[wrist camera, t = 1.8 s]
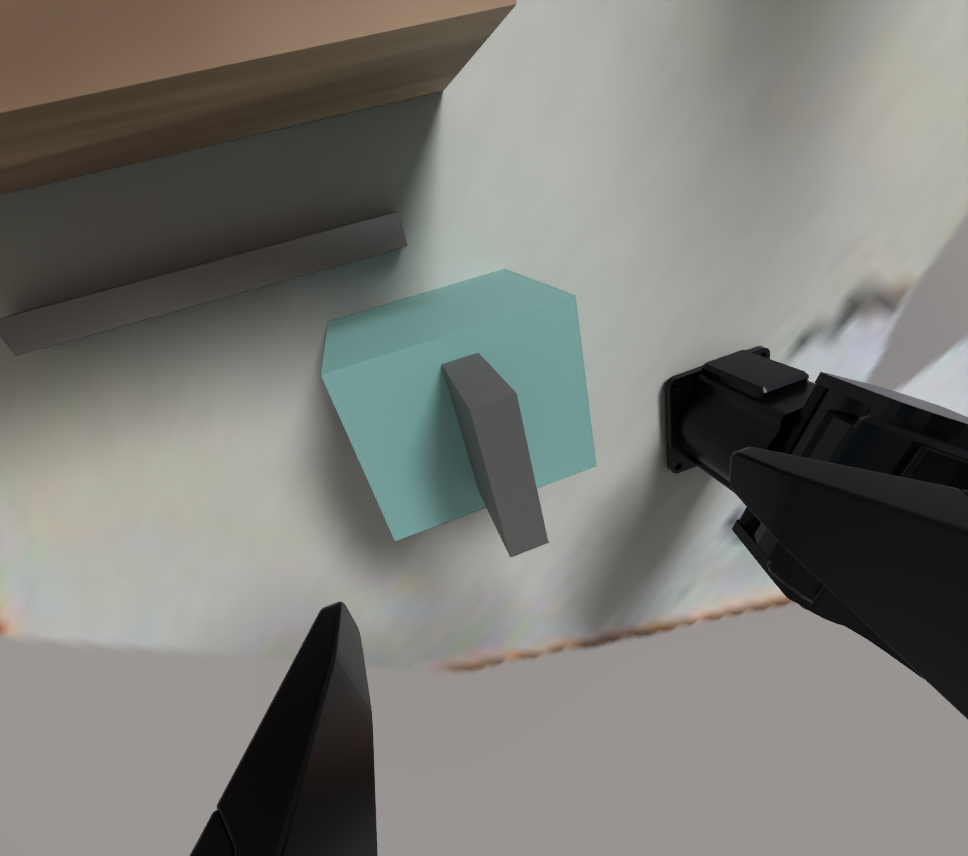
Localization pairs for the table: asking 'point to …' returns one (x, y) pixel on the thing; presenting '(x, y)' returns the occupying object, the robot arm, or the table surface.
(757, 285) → the table surface
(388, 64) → the brown wooden beam
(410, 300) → the teal handled box
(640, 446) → the table surface
